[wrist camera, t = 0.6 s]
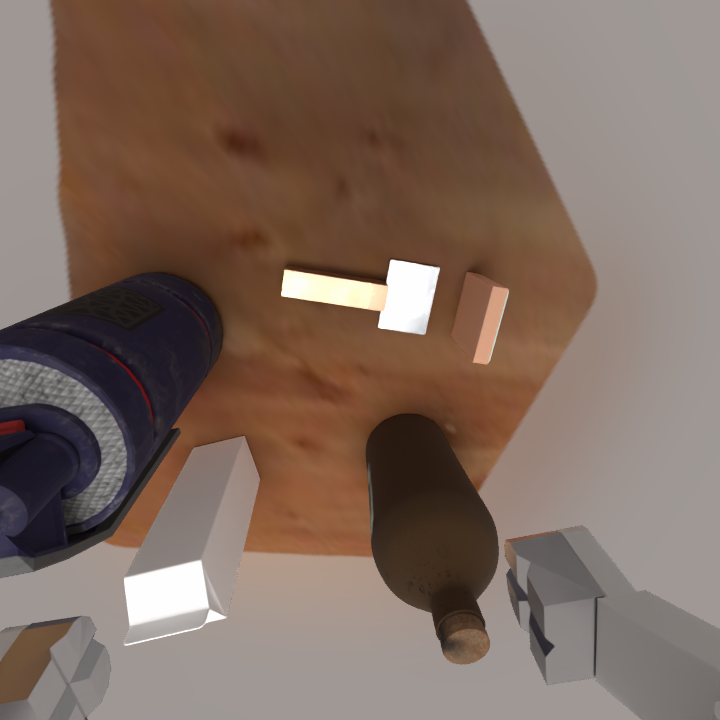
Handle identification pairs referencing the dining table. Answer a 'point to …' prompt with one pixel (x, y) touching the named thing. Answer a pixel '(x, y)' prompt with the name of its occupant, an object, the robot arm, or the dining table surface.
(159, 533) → the milk
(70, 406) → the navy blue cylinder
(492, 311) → the tile
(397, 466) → the olive oil
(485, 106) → the dining table surface
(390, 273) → the turner
